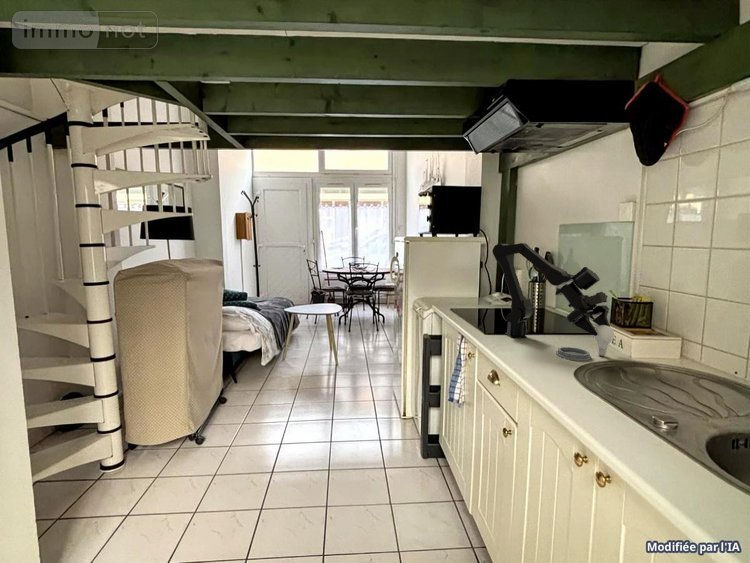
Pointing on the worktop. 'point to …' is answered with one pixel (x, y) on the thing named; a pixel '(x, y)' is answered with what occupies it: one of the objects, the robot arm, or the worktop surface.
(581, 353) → the bulb dish
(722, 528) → the worktop surface
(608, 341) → the lightbulb
